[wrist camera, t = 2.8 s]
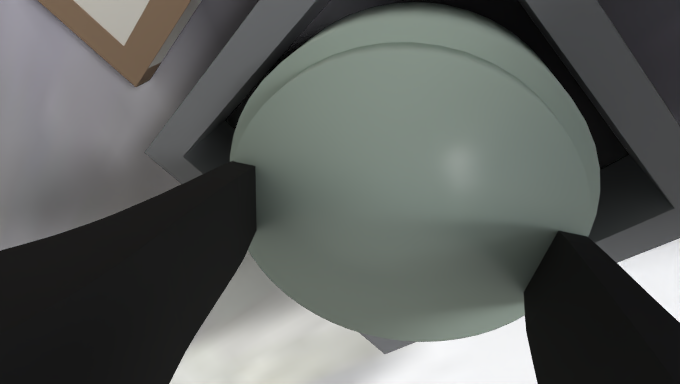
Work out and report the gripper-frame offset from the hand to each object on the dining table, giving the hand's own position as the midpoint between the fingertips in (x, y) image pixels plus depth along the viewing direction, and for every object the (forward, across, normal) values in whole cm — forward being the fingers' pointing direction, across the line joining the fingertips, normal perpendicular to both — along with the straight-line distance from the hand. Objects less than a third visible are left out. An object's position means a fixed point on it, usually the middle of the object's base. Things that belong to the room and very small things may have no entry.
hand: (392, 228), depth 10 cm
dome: (+3, 0, 0) cm, 3 cm away
